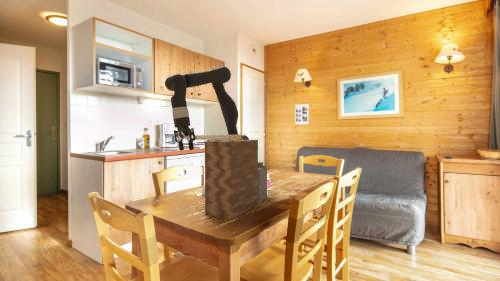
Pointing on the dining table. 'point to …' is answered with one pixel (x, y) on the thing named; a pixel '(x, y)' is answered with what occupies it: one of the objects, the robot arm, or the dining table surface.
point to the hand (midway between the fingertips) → (186, 150)
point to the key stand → (231, 177)
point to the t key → (217, 137)
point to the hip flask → (262, 182)
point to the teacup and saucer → (202, 192)
